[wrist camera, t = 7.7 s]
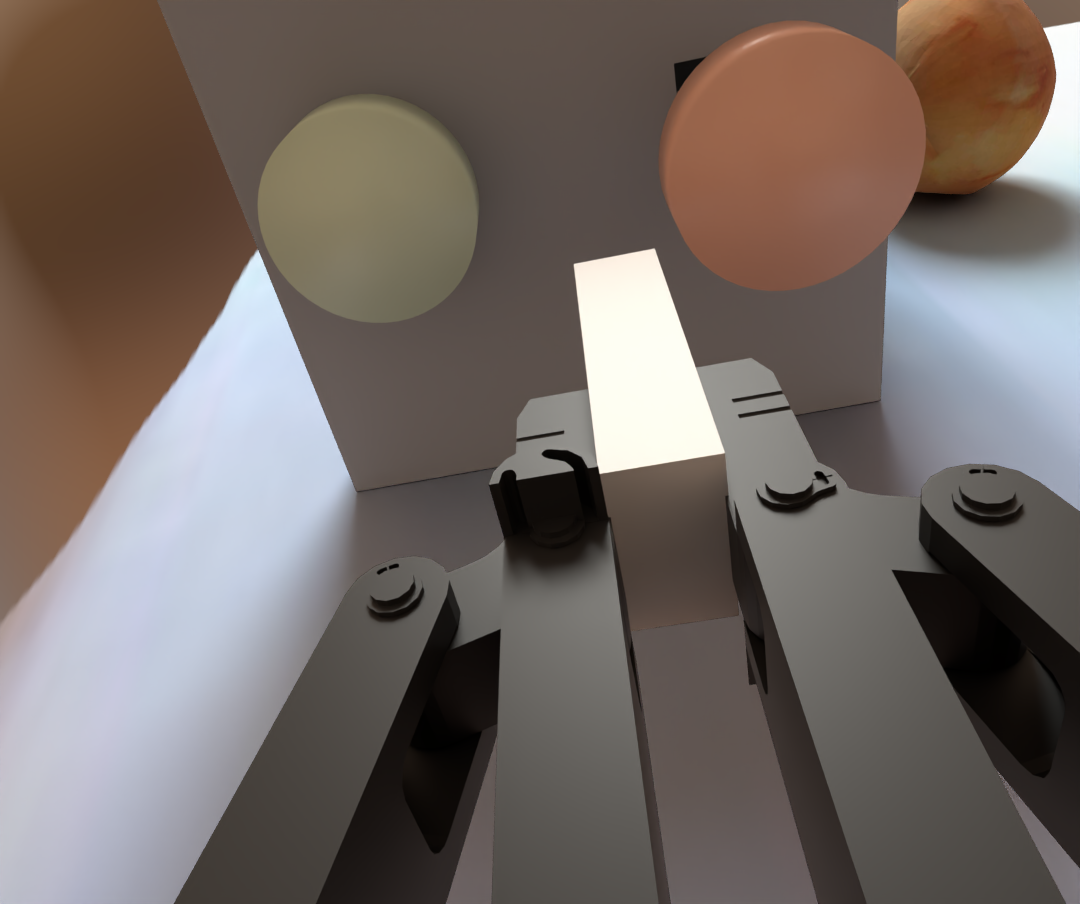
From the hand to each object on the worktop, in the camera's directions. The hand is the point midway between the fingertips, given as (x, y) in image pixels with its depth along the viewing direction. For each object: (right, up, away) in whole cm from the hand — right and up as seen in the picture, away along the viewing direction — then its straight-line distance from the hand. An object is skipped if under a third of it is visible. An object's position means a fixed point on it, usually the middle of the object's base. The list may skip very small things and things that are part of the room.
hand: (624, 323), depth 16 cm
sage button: (-6, +4, +12) cm, 14 cm away
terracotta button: (+5, +4, +9) cm, 11 cm away
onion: (+20, +12, +29) cm, 37 cm away
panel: (+1, -1, +17) cm, 17 cm away
